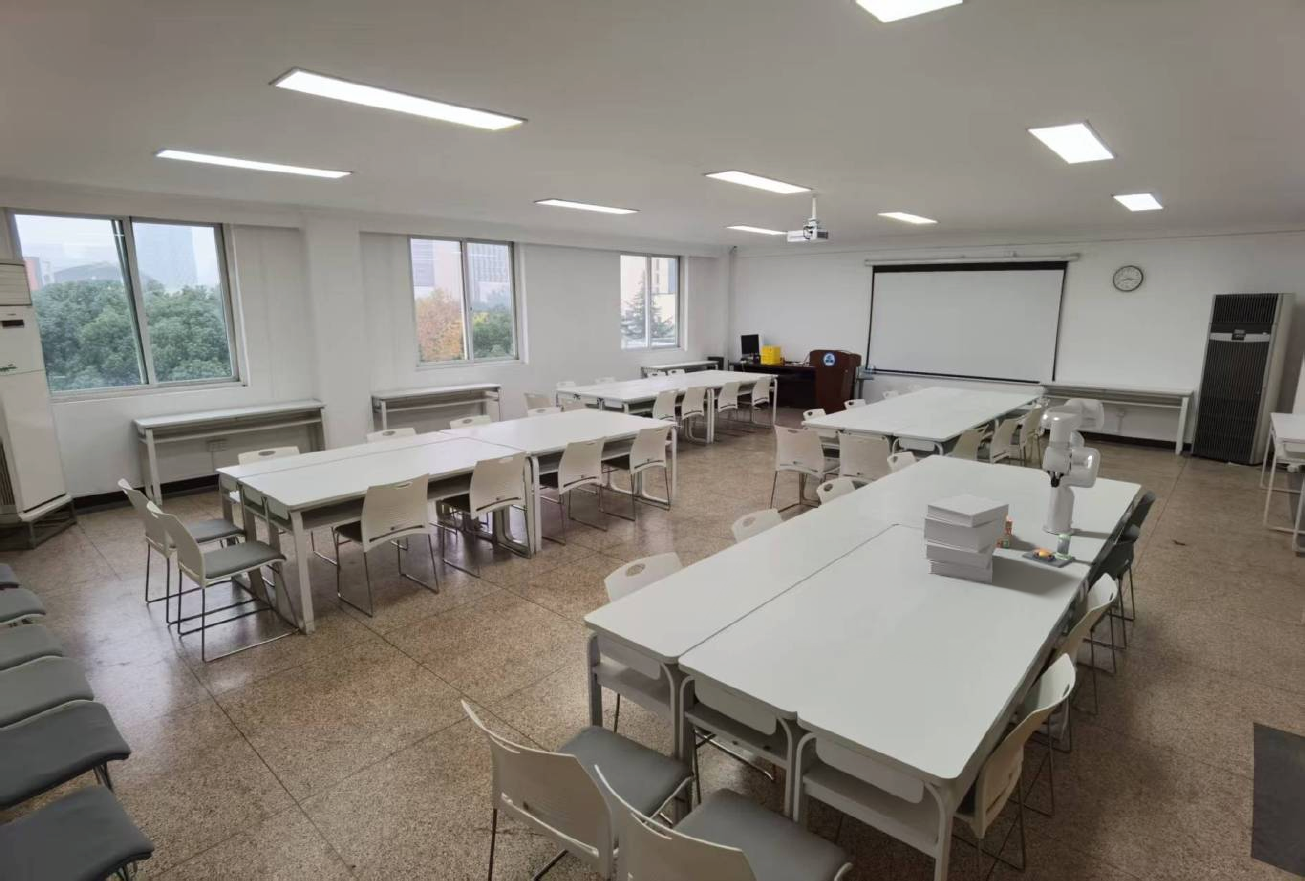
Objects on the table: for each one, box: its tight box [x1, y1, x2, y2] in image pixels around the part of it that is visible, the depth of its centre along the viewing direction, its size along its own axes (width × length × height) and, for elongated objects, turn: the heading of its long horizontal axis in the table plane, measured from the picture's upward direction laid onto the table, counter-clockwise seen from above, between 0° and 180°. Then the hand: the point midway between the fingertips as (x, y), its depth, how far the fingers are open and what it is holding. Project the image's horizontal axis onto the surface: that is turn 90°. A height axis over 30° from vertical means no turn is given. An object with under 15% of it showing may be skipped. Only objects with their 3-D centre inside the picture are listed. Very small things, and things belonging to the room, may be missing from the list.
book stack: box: [920, 493, 1010, 584], centre depth 263 cm, size 30×35×26 cm
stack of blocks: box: [996, 516, 1013, 548], centre depth 292 cm, size 21×6×12 cm, turn 172°
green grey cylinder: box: [1056, 534, 1072, 558], centre depth 268 cm, size 4×4×9 cm
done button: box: [1039, 551, 1049, 558], centre depth 267 cm, size 4×4×2 cm
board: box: [1021, 547, 1076, 568], centre depth 270 cm, size 15×14×2 cm
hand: (1054, 486), depth 279 cm, fingers closed
